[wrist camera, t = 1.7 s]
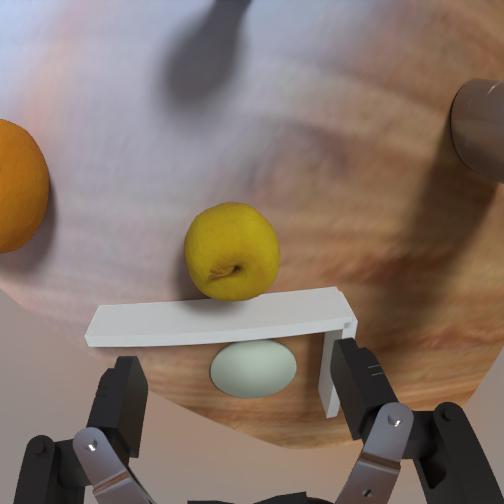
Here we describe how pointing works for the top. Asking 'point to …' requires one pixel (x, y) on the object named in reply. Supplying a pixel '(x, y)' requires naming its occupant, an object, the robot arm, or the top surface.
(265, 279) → the apple
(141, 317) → the grey corner wall
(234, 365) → the pad
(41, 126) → the top surface
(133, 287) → the top surface
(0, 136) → the fruit
